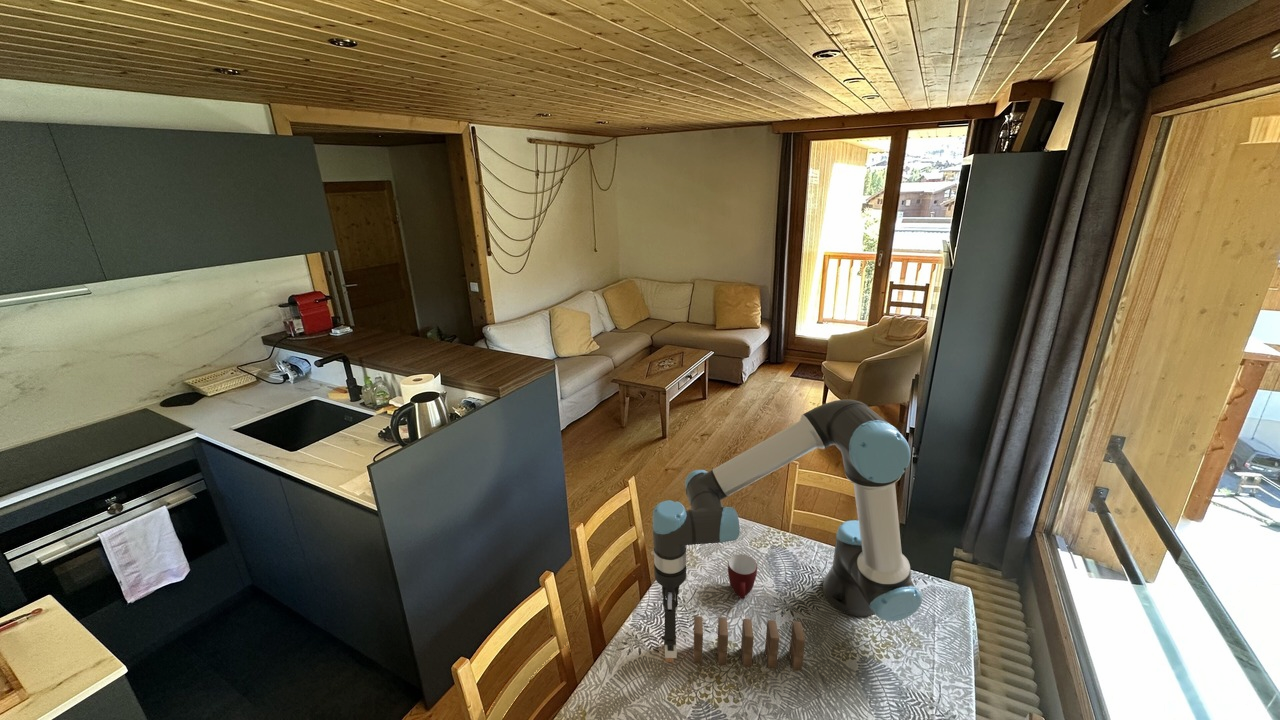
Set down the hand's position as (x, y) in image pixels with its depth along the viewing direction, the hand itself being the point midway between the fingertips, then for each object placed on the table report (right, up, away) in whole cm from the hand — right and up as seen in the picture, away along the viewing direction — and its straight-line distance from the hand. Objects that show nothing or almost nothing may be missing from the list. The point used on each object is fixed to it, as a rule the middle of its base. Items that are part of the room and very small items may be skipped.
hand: (671, 631), depth 122 cm
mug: (+21, 0, +19) cm, 29 cm away
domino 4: (+19, -7, +1) cm, 20 cm away
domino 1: (0, -7, +2) cm, 7 cm away
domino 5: (+25, -7, 0) cm, 26 cm away
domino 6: (+31, -7, 0) cm, 31 cm away
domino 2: (+7, -7, +2) cm, 10 cm away
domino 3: (+13, -7, +1) cm, 14 cm away
